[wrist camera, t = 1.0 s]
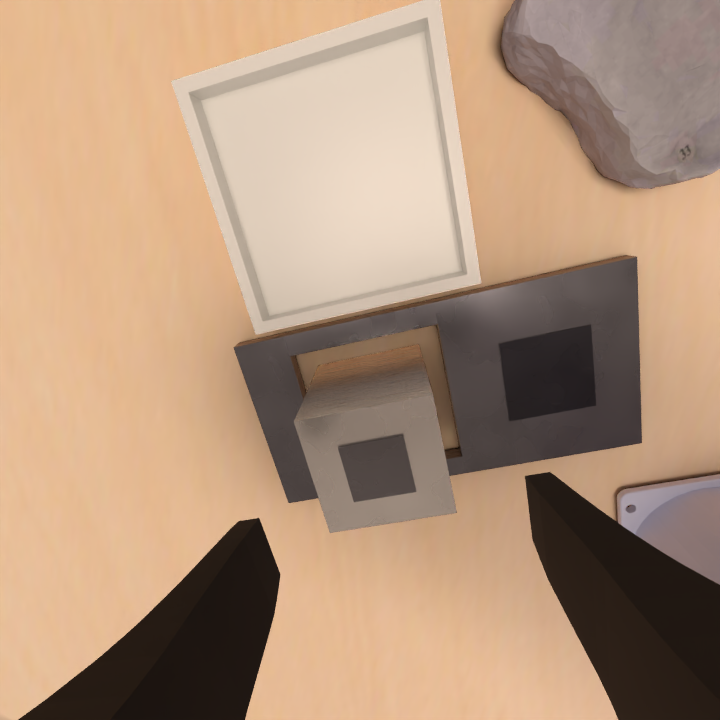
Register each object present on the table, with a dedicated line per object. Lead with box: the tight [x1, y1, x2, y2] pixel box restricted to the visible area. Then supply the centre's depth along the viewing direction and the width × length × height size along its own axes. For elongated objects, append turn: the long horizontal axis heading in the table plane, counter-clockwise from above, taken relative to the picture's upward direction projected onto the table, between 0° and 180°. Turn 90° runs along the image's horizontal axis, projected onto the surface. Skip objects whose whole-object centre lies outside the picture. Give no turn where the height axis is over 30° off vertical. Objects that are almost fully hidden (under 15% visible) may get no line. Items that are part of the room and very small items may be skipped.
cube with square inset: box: [294, 344, 457, 533], centre depth 18 cm, size 5×5×6 cm
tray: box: [171, 0, 481, 335], centre depth 17 cm, size 10×10×2 cm
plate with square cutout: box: [234, 255, 642, 503], centre depth 20 cm, size 9×18×1 cm, turn 104°
